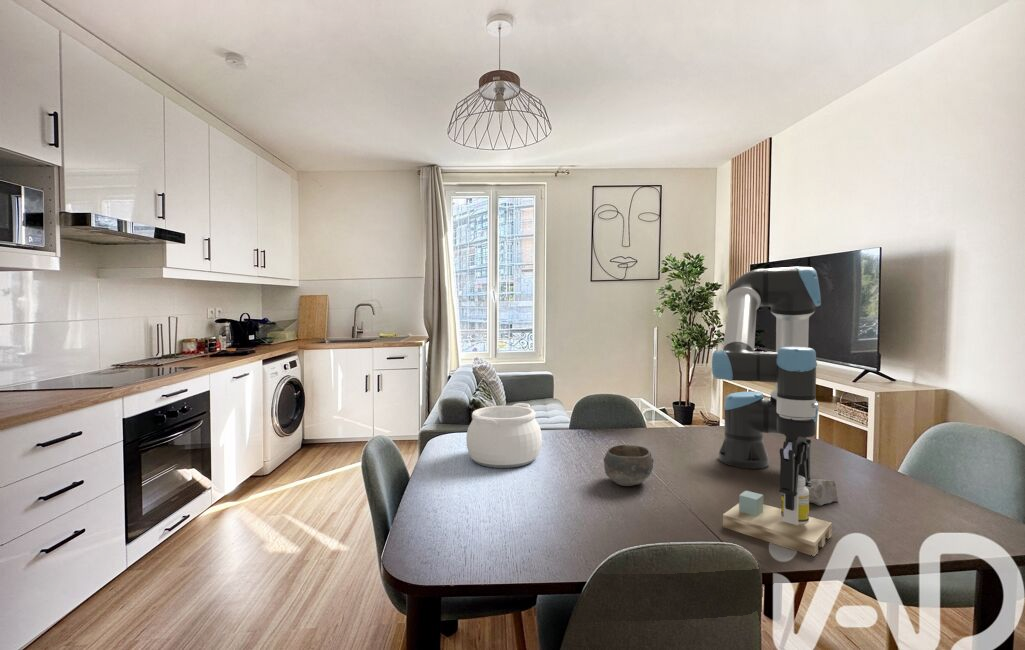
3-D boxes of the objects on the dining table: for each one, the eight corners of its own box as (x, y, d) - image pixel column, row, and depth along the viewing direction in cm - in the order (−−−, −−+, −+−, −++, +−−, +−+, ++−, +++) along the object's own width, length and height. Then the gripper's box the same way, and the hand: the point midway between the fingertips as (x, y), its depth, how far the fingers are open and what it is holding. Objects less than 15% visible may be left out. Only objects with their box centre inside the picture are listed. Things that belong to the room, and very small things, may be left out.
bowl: (656, 478, 145) (656, 445, 145) (648, 496, 132) (648, 460, 131) (611, 472, 151) (611, 441, 151) (598, 489, 137) (598, 454, 137)
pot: (515, 478, 147) (514, 423, 147) (448, 464, 161) (447, 414, 161) (556, 453, 172) (556, 406, 172) (496, 443, 186) (495, 399, 185)
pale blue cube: (739, 511, 114) (739, 494, 114) (745, 506, 117) (745, 490, 117) (756, 516, 111) (756, 499, 111) (763, 511, 114) (763, 494, 114)
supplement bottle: (775, 515, 110) (776, 473, 109) (797, 513, 110) (798, 472, 110) (791, 525, 104) (791, 481, 104) (814, 524, 105) (815, 480, 104)
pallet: (722, 527, 113) (722, 514, 113) (744, 510, 121) (744, 499, 121) (814, 556, 99) (814, 542, 99) (831, 535, 108) (831, 522, 108)
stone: (819, 493, 133) (819, 472, 132) (845, 504, 125) (845, 483, 124) (788, 496, 131) (789, 475, 130) (812, 508, 123) (812, 486, 123)
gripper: (801, 426, 97) (801, 538, 98) (827, 412, 110) (826, 511, 111) (762, 420, 103) (762, 526, 104) (790, 407, 115) (790, 502, 116)
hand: (795, 518), depth 107 cm, fingers closed on supplement bottle, 5 cm apart
